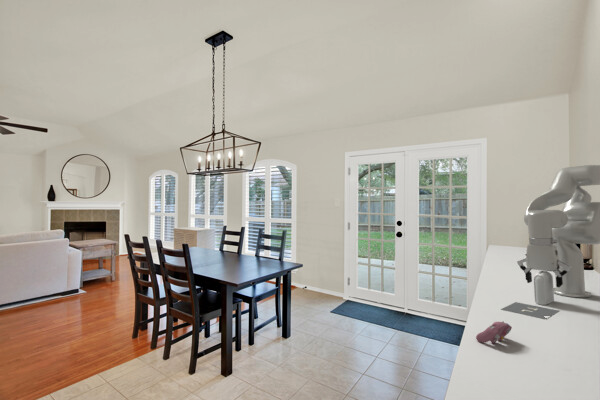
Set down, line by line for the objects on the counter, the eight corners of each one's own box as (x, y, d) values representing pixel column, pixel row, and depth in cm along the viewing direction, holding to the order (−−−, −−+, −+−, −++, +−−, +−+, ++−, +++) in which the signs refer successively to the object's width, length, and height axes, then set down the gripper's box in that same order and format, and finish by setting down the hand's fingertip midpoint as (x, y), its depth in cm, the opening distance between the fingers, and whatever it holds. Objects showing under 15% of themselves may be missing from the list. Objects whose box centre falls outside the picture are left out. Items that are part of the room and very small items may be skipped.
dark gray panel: (515, 302, 123) (515, 301, 123) (559, 311, 112) (559, 310, 112) (500, 309, 115) (500, 309, 115) (546, 320, 104) (546, 319, 104)
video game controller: (488, 351, 86) (498, 332, 83) (473, 339, 89) (483, 320, 87) (507, 343, 90) (517, 325, 88) (492, 331, 94) (502, 314, 92)
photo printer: (542, 298, 127) (541, 268, 127) (555, 301, 123) (553, 270, 124) (533, 303, 121) (531, 272, 121) (546, 306, 117) (544, 274, 118)
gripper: (571, 242, 118) (574, 286, 118) (519, 239, 132) (522, 279, 132) (565, 244, 114) (568, 290, 114) (512, 241, 128) (515, 282, 128)
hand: (543, 284), depth 123 cm, fingers open, 9 cm apart
